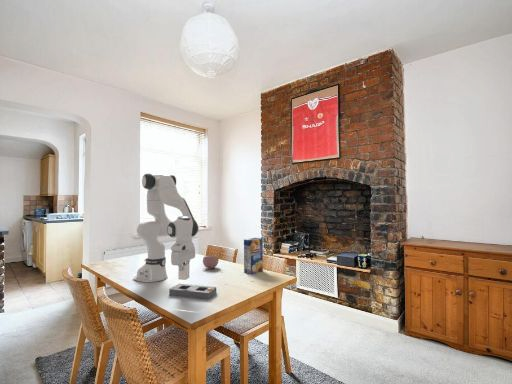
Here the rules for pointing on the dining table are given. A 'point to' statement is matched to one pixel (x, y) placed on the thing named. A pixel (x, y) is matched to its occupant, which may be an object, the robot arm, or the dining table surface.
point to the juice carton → (253, 255)
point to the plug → (184, 272)
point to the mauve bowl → (210, 261)
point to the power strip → (192, 291)
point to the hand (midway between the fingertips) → (184, 269)
